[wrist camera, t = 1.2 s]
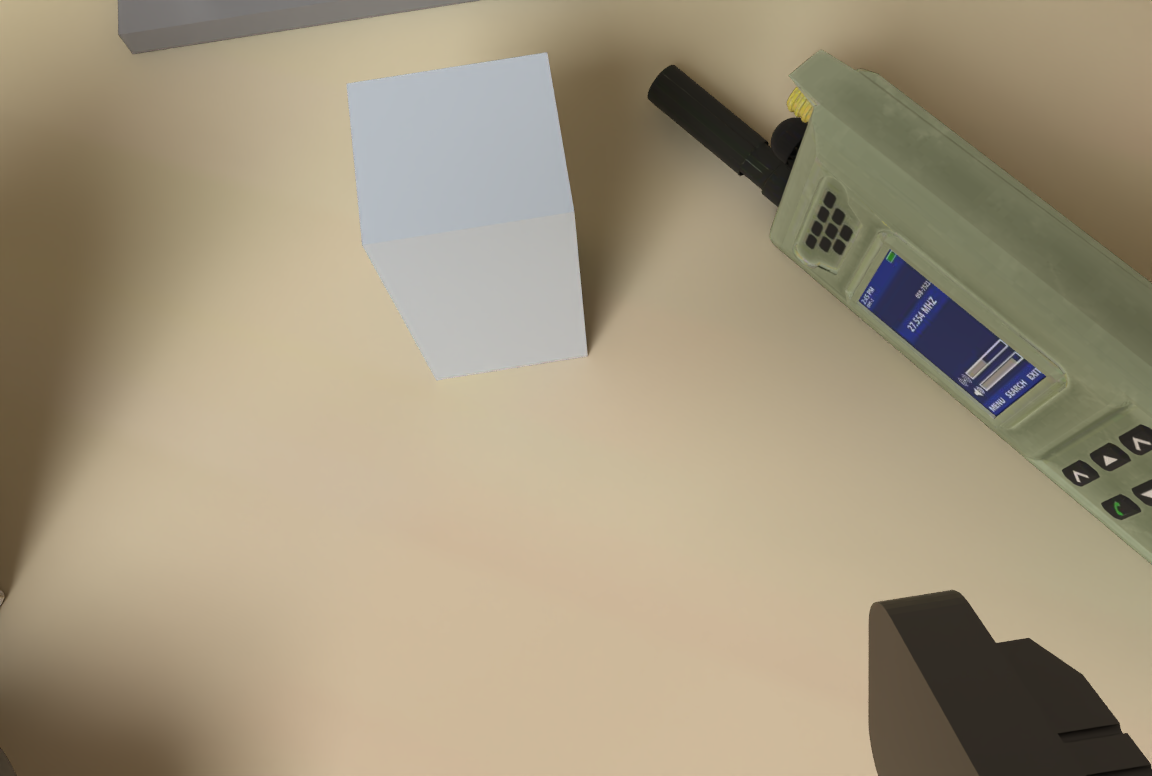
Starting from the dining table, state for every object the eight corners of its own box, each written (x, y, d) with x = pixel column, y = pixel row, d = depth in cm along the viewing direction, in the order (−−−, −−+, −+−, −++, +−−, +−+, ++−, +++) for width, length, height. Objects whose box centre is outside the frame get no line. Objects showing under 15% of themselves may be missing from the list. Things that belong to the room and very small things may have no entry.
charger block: (567, 234, 31) (547, 52, 23) (587, 356, 30) (574, 211, 21) (421, 257, 31) (346, 83, 23) (436, 380, 30) (362, 245, 21)
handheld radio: (1308, 726, 26) (618, 138, 32) (1376, 634, 27) (689, 76, 33) (1535, 720, 20) (625, -9, 26) (1616, 600, 21) (713, -82, 27)
